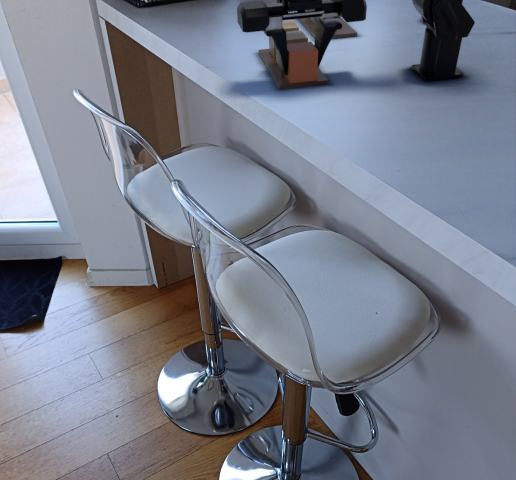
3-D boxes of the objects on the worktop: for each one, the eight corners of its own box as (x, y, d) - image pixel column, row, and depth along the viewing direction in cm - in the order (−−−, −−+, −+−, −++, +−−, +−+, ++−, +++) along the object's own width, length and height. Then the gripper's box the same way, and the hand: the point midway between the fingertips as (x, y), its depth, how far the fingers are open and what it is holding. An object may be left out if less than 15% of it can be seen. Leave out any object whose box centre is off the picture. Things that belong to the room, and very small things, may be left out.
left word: (328, 84, 85) (329, 49, 82) (279, 89, 85) (278, 54, 81) (301, 48, 99) (301, 17, 95) (258, 53, 98) (257, 21, 94)
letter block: (317, 80, 85) (318, 49, 82) (289, 83, 85) (289, 52, 81) (310, 71, 88) (311, 41, 85) (283, 74, 88) (283, 44, 85)
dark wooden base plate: (357, 36, 103) (359, 5, 99) (316, 40, 102) (317, 9, 98) (330, 11, 116) (331, -17, 112) (294, 15, 115) (294, -13, 112)
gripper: (349, -61, 81) (342, 51, 92) (228, -50, 80) (236, 63, 91) (372, -48, 74) (362, 73, 85) (239, -36, 72) (246, 85, 83)
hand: (300, 72), depth 86 cm, fingers closed on letter block, 4 cm apart
